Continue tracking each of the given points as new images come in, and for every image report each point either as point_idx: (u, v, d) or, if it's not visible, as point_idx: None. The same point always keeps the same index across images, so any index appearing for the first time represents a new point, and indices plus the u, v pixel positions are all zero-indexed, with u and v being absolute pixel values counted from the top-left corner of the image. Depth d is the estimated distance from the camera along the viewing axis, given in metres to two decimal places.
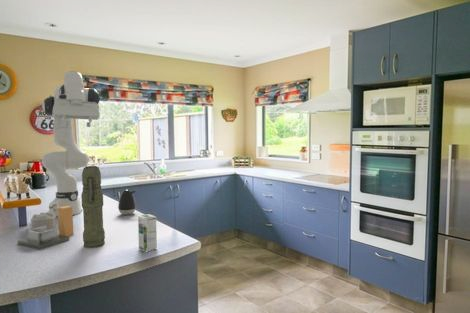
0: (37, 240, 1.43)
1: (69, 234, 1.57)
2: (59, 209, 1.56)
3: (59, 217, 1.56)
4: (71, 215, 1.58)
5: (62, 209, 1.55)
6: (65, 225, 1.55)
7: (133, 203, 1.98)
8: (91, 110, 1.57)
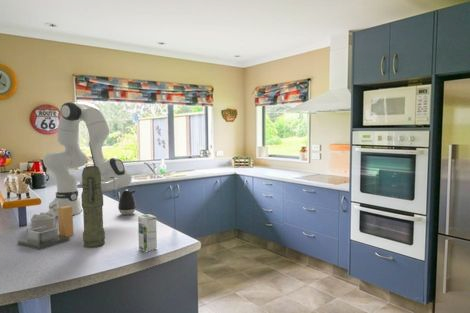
0: (37, 240, 1.43)
1: (69, 234, 1.57)
2: (59, 209, 1.56)
3: (59, 217, 1.56)
4: (71, 215, 1.58)
5: (62, 209, 1.55)
6: (65, 225, 1.55)
7: (133, 203, 1.98)
8: None
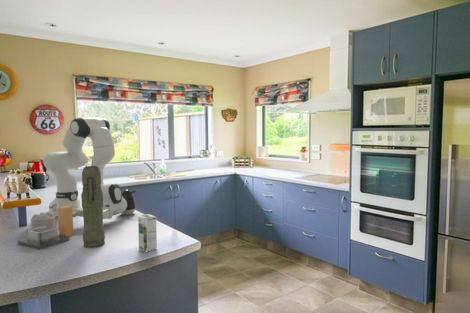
0: (37, 240, 1.43)
1: (69, 234, 1.57)
2: (59, 209, 1.56)
3: (59, 217, 1.56)
4: (71, 215, 1.58)
5: (62, 209, 1.55)
6: (65, 225, 1.55)
7: (133, 203, 1.98)
8: None
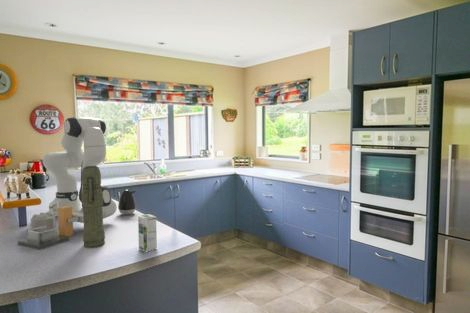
0: (37, 240, 1.43)
1: (69, 234, 1.57)
2: (59, 209, 1.56)
3: (59, 217, 1.56)
4: (71, 215, 1.58)
5: (62, 209, 1.55)
6: (65, 225, 1.55)
7: (133, 203, 1.98)
8: None
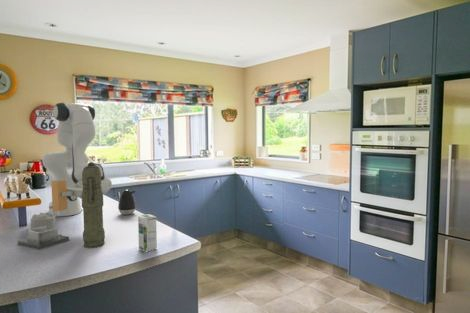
0: (37, 240, 1.43)
1: (63, 208, 1.54)
2: (53, 182, 1.53)
3: (52, 191, 1.53)
4: (65, 189, 1.55)
5: (56, 182, 1.51)
6: (59, 199, 1.52)
7: (133, 203, 1.98)
8: None
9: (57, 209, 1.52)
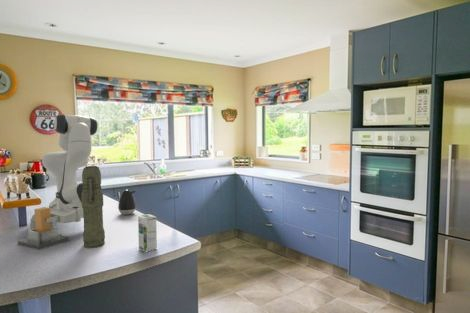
0: (37, 240, 1.43)
1: None
2: (36, 211, 1.46)
3: (36, 220, 1.47)
4: (49, 217, 1.48)
5: (39, 211, 1.45)
6: (42, 228, 1.46)
7: (133, 203, 1.98)
8: None
9: None
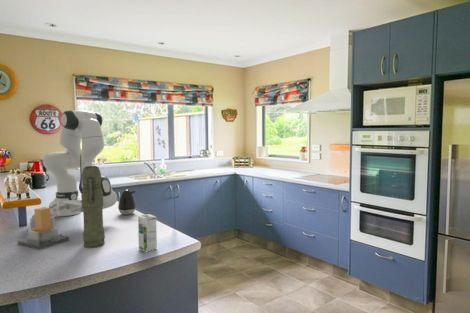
0: (37, 240, 1.43)
1: None
2: (36, 211, 1.46)
3: (36, 220, 1.47)
4: (49, 217, 1.48)
5: (39, 211, 1.45)
6: (42, 228, 1.46)
7: (133, 203, 1.98)
8: None
9: None
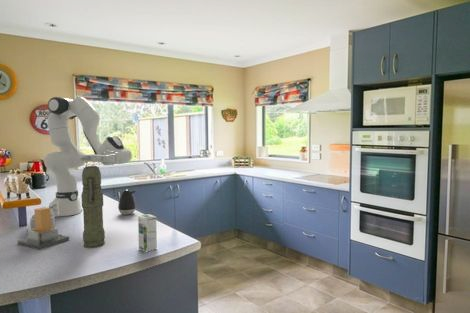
0: (37, 240, 1.43)
1: None
2: (36, 211, 1.46)
3: (36, 220, 1.47)
4: (49, 217, 1.48)
5: (39, 211, 1.45)
6: (42, 228, 1.46)
7: (133, 203, 1.98)
8: None
9: None
